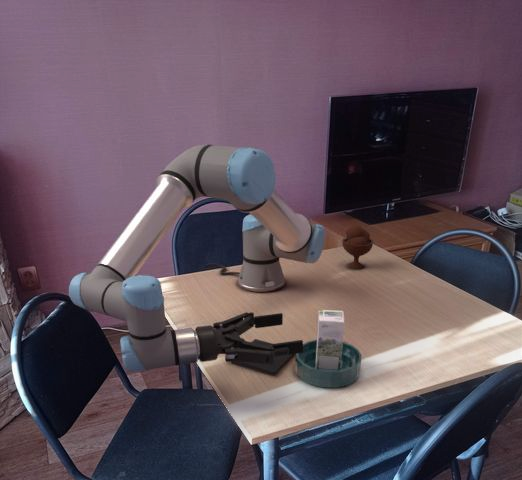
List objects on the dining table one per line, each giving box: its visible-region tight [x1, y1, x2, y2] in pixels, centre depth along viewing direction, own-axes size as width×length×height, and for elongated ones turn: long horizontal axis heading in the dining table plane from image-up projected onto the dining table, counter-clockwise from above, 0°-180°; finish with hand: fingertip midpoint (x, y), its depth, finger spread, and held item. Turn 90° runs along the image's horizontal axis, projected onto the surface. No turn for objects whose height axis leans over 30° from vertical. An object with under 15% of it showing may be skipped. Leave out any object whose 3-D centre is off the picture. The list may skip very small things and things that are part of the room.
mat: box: [230, 338, 296, 377], centre depth 125 cm, size 12×12×1 cm
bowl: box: [294, 339, 362, 388], centre depth 119 cm, size 15×15×4 cm
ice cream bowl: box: [341, 224, 374, 270], centre depth 177 cm, size 11×11×15 cm
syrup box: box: [316, 309, 346, 371], centre depth 116 cm, size 6×6×14 cm
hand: (291, 331), depth 112 cm, fingers open, 13 cm apart
